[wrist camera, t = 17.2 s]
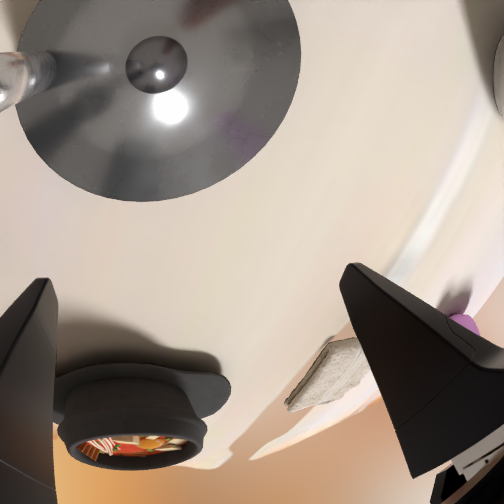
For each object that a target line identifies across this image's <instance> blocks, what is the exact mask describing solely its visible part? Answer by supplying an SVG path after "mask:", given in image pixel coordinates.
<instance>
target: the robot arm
mask: <svg viewBox="0 0 504 504" xmlns="http://www.w3.org/2000/svg"><path fill="white" fill-rule="evenodd" d="M339 288H340V291H341V294H342V297H343V300H344V303H345V306H346V309H347V312H348V315H349V318H350V321H351V323H352V326H353V329H354V331H355V334H356V336H357V338H358V340H359V343H360V345H361V347H362V350H363V352H364V354H365V357H366V359H367V361H368V364H369V366H370V368H371V371H372V373H373V376H374V378H375V381H376V383H377V385H378V388H379V390H380V393H381V395H382V398H383V400H384V403H385V405H386V408H387V411H388V413H389V416H390V418H391V421H392V424H393V426H394V429H395V432H396V434H397V437H398V440H399V443H400V445H401V448H402V451H403V454H404V457H405V460H406V462H407V465H408V468H409V471H410V474H411V476H412V478H413V479H414V478H417V477H419V476H421V475H423V474H425V473H427V472H429V471H431V470H432V469H434V468H436V467H438V466H440V465H442V464H444V463H445V462H447V461H449V460H451V461H452V464H450V465H449V466H448V467H446V468H445V469H444V470H442V471H441V472H440V473H438V474H437V475H436V479H435V484H434V487H433V491H432V495H431V499H430V503H431V504H504V348H501V347H498V346H496V345H495V344H493V343H491V342H490V341H488V340H486V339H484V338H483V337H481V336H479V335H477V334H476V333H474V332H472V331H471V330H469V329H467V328H465V327H464V326H462V325H460V324H459V323H457V322H456V321H454V320H452V319H451V318H449V317H448V316H446V315H445V314H444V315H443V313H441V312H440V311H438V310H437V309H435V308H434V307H432V306H430V305H429V304H427V303H426V302H424V301H422V300H421V299H419V298H418V297H416V296H414V295H413V294H411V293H410V292H408V291H406V290H405V289H403V288H401V287H400V286H398V285H397V284H395V283H393V282H392V281H390V280H388V279H387V278H385V277H383V276H382V275H380V274H378V273H377V272H375V271H373V270H372V269H370V268H368V267H366V266H365V265H363V264H361V263H349V264H348V265H347V266H346V268H345V271H344V273H343V275H342V278H341V280H340V283H339ZM57 321H58V300H57V297H56V294H55V291H54V288H53V285H52V282H51V280H50V279H49V278H36V279H35V280H34V281H33V282H32V283H31V284H30V285H29V286H28V287H27V288H26V290H25V291H24V292H23V293H22V294H21V295H20V296H19V297H18V298H17V299H16V300H15V301H14V303H13V304H12V305H11V306H10V307H9V308H8V309H7V310H6V312H5V313H4V314H3V315H2V316H1V317H0V504H57V496H56V491H55V490H56V488H55V477H54V462H53V395H54V380H55V368H56V356H57Z"/></svg>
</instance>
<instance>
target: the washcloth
mask: <svg viewBox="0 0 504 504" xmlns="http://www.w3.org/2000/svg"><path fill="white" fill-rule="evenodd" d="M370 369H371V368H370V366H369V364H368V361H367V359H366V357H365V354H364V352H363V350H362V347H361V345H360V343H359V340H358V338H354V337H353V338H348V339H345V340H338V341H334V342H330V343H328V344H327V345H326V346H325V348H324V349H323V350H322V351H321V353H320V354H319V356H318V357H317V358H316V360H315V361H314V363H313V364H312V366H311V367H310V369H309V371H308V372H307V373H306V375H305V377H304V378H303V379H302V380H301V382H299V383H298V385H297V387H296V388H295V389H293V391H292V392H291V394H290V396H289V397H288V398H286V400H285V402H284V404H285V405H286V406H288V408H287V410H288V411H289V412H295V411H299V410H301V409H304V408H307V407H310V406H313V405H320V404H327V403H329V402H332V401H335V400H338V399H340V398H342V397H343V396H344V394H345V393H346V392H347V391H349V390H350V389H351V388H353V387H355V386H357V385H358V384H359V383H360V381H361V379H362V378H363V377H364V375H365V374H366V373H367V372H368V371H369V370H370Z"/></svg>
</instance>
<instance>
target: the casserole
mask: <svg viewBox="0 0 504 504" xmlns="http://www.w3.org/2000/svg"><path fill="white" fill-rule="evenodd" d="M230 394H231V385H230V383H229V381H228V379H227V378H226V377H225V376H223V375H220V374H217V373H212V372H191V371H181V370H176V369H171V368H166V367H161V366H156V365H150V364H139V363H109V364H99V365H93V366H88V367H84V368H80V369H77V370H75V371H72V372H69V373H67V374H64V375H62V376H59V377H56V378H55V380H54V395H53V422H54V423H56V424H59V426H58V429H57V431H58V435H59V437H60V438H61V440H62V441H63V442H64V443H65V445H66V448H67V451H68V453H69V454H70V455H71V456H72V457H74V458H75V459H76V460H78V461H80V462H83V463H86V464H88V465H91V466H96V467H100V468H106V469H113V470H132V471H133V470H149V469H157V468H162V467H167V466H171V465H175V464H178V463H181V462H184V461H186V460H189V459H191V458H193V457H194V456H196V455H197V454H198V453H200V452H201V450H202V448H203V438H204V436H205V435H206V433H207V425H206V424H205V422H204V421H203V420H201V419H202V418H205V417H207V416H210V415H212V414H214V413H216V412H217V411H218V410H219V409H221V407H222V406H223V405H224V404H225V403H226V402H227V400H228V398H229V396H230Z"/></svg>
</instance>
